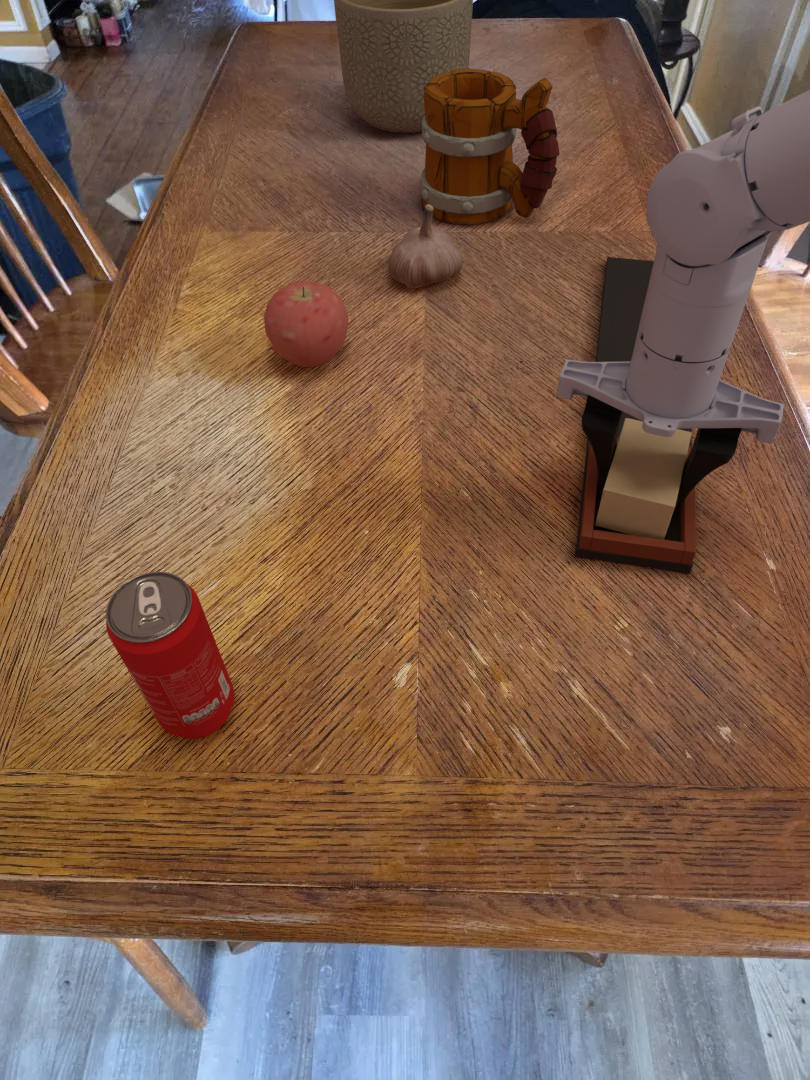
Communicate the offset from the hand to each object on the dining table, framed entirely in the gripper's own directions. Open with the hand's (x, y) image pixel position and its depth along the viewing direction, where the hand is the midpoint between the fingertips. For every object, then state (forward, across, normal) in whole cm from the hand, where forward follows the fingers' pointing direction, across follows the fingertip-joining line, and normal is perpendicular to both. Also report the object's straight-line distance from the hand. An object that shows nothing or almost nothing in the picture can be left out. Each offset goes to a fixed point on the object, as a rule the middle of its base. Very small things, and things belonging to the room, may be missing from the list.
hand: (642, 484), depth 61 cm
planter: (+3, -42, +60) cm, 74 cm away
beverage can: (+3, -24, -27) cm, 36 cm away
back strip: (+3, -2, +14) cm, 15 cm away
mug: (+3, -25, +41) cm, 48 cm away
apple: (+3, -32, +9) cm, 34 cm away
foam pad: (+1, 0, 0) cm, 1 cm away
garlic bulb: (+3, -27, +25) cm, 37 cm away
